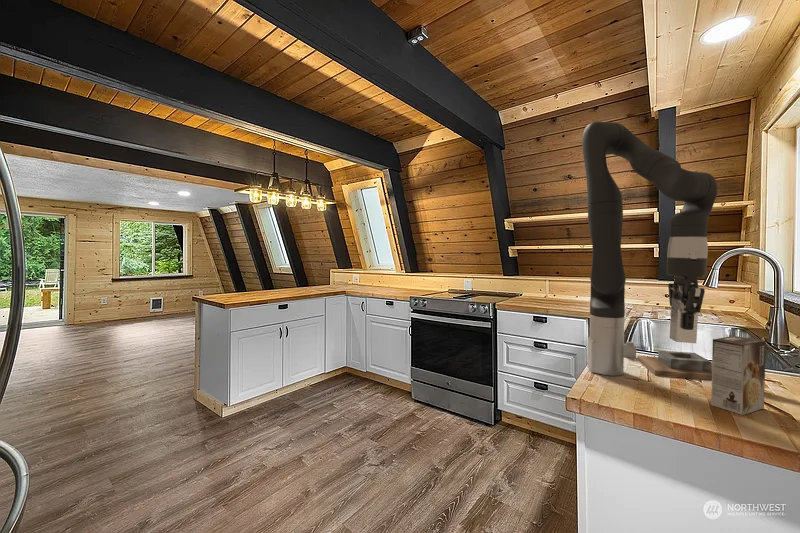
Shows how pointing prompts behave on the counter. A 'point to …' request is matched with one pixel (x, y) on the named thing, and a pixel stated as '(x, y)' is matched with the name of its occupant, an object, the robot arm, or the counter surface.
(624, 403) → the counter surface
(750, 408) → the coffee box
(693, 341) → the key peg
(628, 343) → the grey rectangular block
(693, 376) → the dock
